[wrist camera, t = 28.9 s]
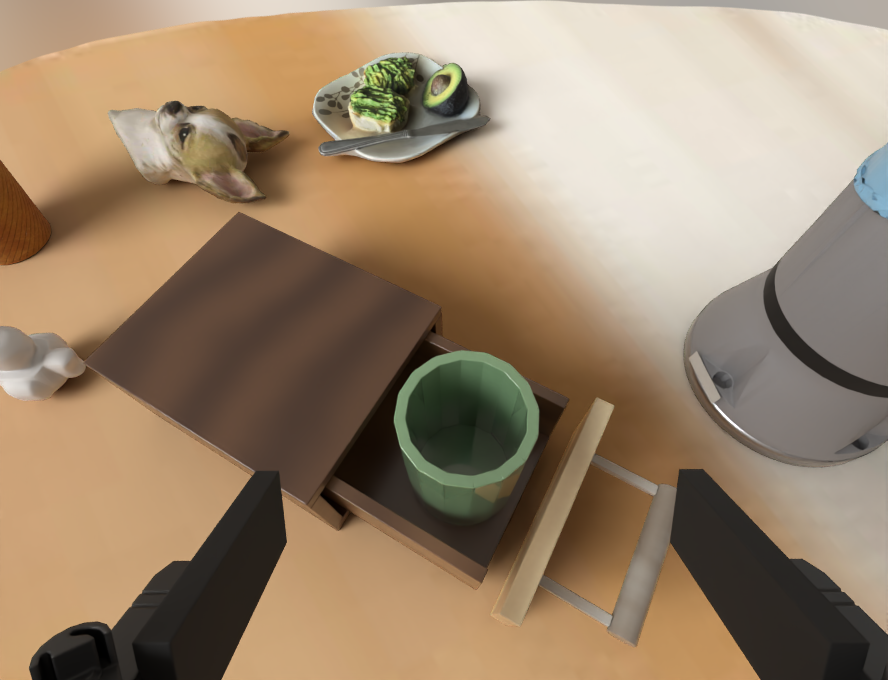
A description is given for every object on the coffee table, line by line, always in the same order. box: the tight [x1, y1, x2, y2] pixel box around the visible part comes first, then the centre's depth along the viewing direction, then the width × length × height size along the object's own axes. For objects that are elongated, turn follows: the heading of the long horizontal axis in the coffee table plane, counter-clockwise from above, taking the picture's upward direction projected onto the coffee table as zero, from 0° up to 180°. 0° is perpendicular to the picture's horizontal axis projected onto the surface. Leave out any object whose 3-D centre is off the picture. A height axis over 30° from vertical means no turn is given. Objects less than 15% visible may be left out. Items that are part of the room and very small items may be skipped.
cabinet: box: [83, 212, 442, 531], centre depth 36 cm, size 18×15×9 cm
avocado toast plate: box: [312, 52, 490, 163], centre depth 54 cm, size 19×18×5 cm
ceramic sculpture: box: [108, 101, 289, 203], centre depth 48 cm, size 11×9×15 cm
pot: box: [394, 350, 539, 526], centre depth 29 cm, size 7×7×11 cm
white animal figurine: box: [0, 326, 86, 401], centre depth 37 cm, size 5×7×8 cm
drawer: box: [321, 331, 677, 647], centre depth 32 cm, size 23×14×7 cm, turn 60°
